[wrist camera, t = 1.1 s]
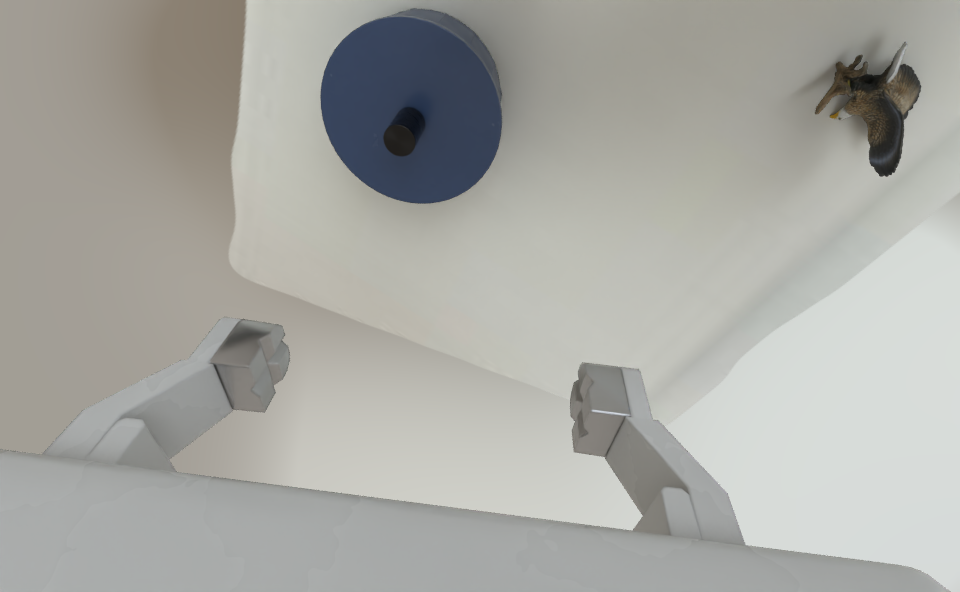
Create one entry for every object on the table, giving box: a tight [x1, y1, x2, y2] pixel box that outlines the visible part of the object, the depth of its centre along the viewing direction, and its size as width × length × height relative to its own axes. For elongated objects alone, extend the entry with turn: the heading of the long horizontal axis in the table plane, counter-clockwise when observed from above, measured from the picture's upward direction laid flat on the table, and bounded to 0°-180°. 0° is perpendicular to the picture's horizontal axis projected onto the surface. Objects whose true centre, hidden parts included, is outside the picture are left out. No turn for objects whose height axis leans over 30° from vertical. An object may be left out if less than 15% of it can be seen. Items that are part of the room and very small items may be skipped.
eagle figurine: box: [815, 42, 921, 177], centre depth 36 cm, size 8×7×9 cm
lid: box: [321, 15, 502, 203], centre depth 35 cm, size 15×15×5 cm
